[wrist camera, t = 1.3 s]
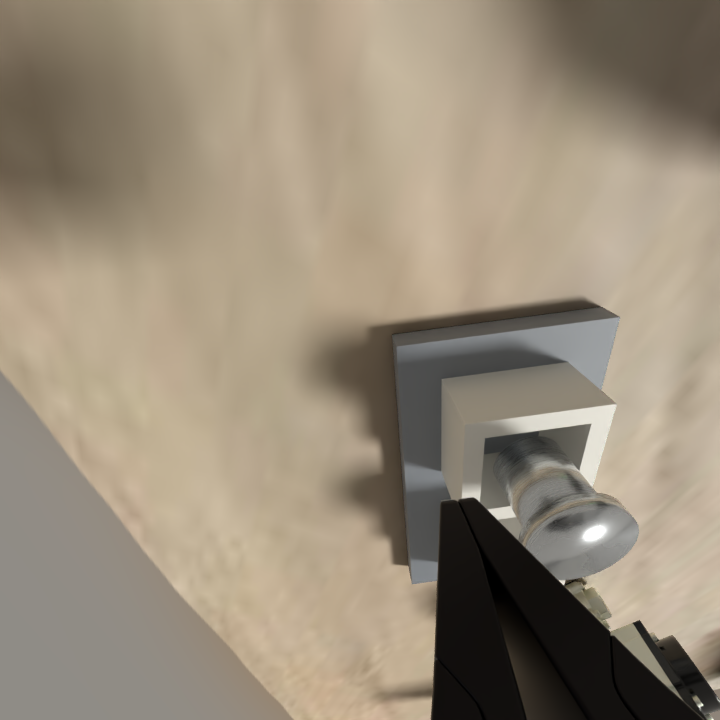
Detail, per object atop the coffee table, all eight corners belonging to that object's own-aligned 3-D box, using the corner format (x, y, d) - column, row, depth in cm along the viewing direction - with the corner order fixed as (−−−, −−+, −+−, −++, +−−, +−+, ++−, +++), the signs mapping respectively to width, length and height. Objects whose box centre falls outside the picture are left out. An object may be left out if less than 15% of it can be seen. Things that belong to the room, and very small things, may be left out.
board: (601, 306, 21) (683, 352, 16) (546, 546, 32) (585, 616, 27) (392, 334, 21) (411, 388, 16) (408, 566, 32) (423, 640, 27)
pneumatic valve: (631, 578, 35) (758, 756, 25) (520, 625, 38) (594, 803, 28) (613, 552, 33) (747, 736, 23) (497, 604, 36) (568, 790, 25)
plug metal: (578, 422, 18) (652, 501, 14) (563, 487, 21) (623, 572, 16) (486, 435, 18) (534, 518, 14) (481, 498, 21) (521, 586, 16)
